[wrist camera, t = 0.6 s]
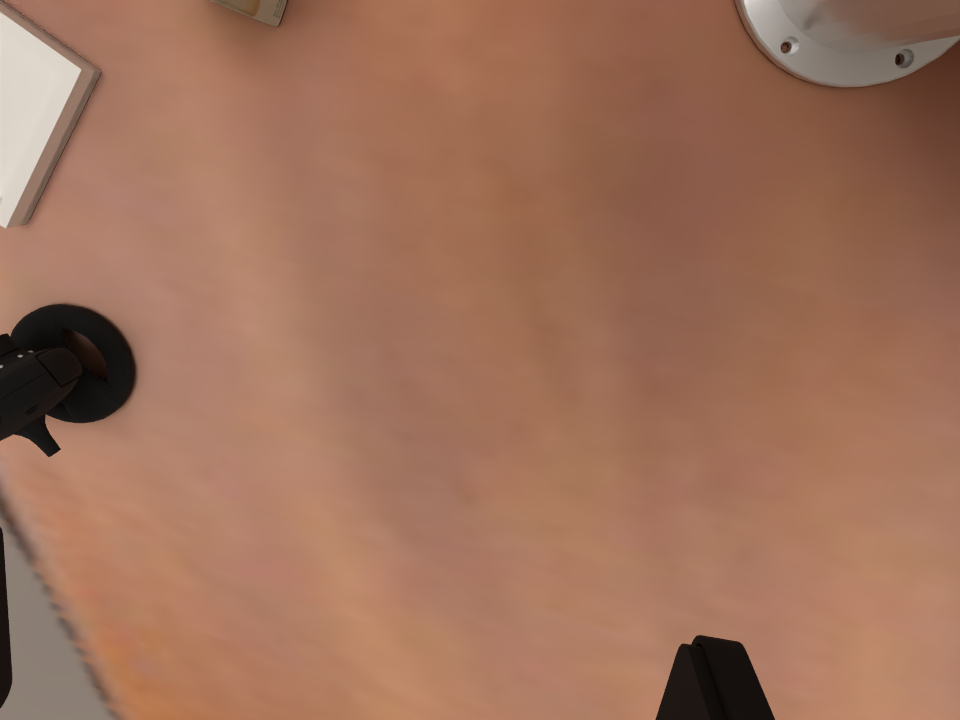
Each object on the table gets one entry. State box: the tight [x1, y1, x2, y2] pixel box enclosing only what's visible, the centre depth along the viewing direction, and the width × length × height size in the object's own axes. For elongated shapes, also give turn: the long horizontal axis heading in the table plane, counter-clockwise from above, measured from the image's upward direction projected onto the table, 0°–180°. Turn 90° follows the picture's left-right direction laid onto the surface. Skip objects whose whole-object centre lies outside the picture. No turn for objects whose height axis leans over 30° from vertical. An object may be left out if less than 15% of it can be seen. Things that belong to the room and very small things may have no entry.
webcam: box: [0, 304, 134, 457], centre depth 39 cm, size 8×8×10 cm
